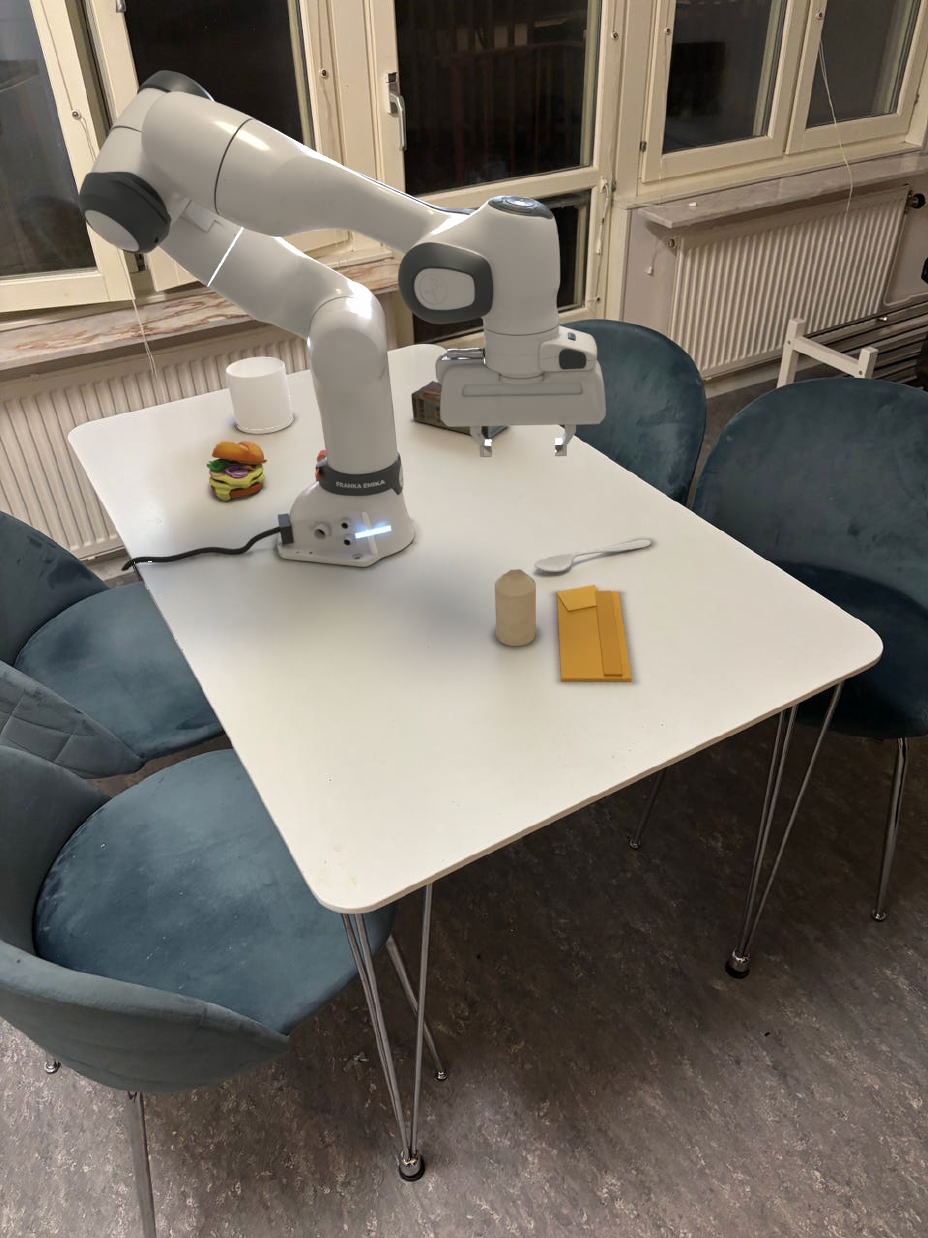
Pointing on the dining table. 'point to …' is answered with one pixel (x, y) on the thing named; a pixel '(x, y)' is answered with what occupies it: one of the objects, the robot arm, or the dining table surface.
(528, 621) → the candle
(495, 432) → the beverage carton
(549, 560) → the spoon
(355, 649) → the dining table surface
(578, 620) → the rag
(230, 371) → the cup
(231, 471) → the cheeseburger
